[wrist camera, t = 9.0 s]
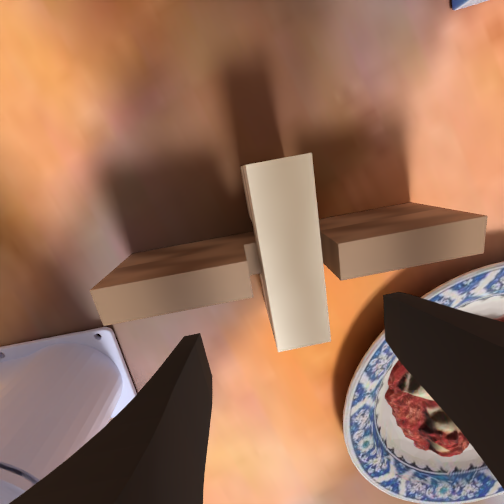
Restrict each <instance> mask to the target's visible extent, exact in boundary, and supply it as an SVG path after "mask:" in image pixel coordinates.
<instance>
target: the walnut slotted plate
mask: <svg viewBox="0 0 504 504" xmlns="http://www.w3.org/2000/svg"><path fill="white" fill-rule="evenodd" d="M486 225H487V216H485V215H479V214H474V213H468V212H462V211H457V210H451V209H445V208H440V207H434V206H428V205H423V204H417V203H412V202H410V203H404V204H399V205H393V206H388V207H383V208H377V209H372V210H366V211H361V212H355V213H350V214H345V215H339V216H334V217H328V218H323V219H319V228H320V238H321V248H322V257H323V263H324V264H325V265H326V266H327V267H328V268H329V269H330V270H331V271H332V272H333V273H334V274H335V275H336V276H337V277H338V278H339V279H340V280H347V279H352V278H357V277H362V276H367V275H373V274H378V273H383V272H388V271H394V270H399V269H404V268H409V267H414V266H420V265H425V264H430V263H435V262H440V261H446V260H451V259H456V258H461V257H467V256H472V255H477V254H482V253H484V245H485V235H486ZM260 273H261V268H260V262H259V257H258V251H257V246H256V240H255V234H254V231H253V232H247V233H242V234H236V235H231V236H225V237H220V238H215V239H209V240H204V241H198V242H193V243H187V244H182V245H177V246H171V247H166V248H160V249H155V250H150V251H144V252H139V253H133V254H131V255H130V256H129V257H128V258H127V259H126V260H124V261H123V262H122V263H121V264H120V265H119V266H118V267H116V268H115V269H114V270H113V271H112V272H111V273H109V274H108V275H107V276H106V277H105V278H104V279H102V280H101V281H100V282H99V283H98V284H97V285H96V286H94V287H93V288H92V289H91V290H90V292H91V295H92V298H93V300H94V303H95V305H96V308H97V311H98V313H99V316H100V318H101V321H102V323H103V326H106V325H112V324H117V323H122V322H127V321H133V320H138V319H143V318H148V317H153V316H159V315H164V314H169V313H174V312H180V311H185V310H190V309H195V308H200V307H206V306H211V305H216V304H221V303H226V302H232V301H237V300H242V299H247V298H253V291H252V286H251V281H250V275H254V274H260Z"/></svg>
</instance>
